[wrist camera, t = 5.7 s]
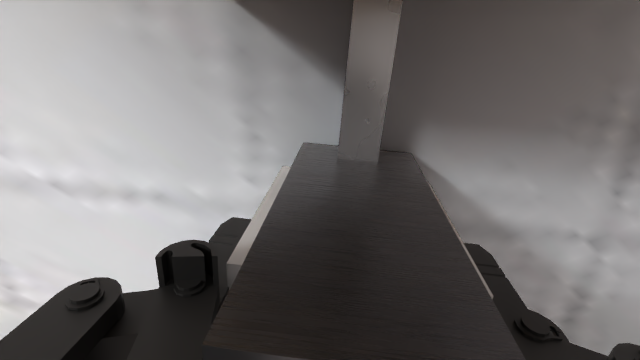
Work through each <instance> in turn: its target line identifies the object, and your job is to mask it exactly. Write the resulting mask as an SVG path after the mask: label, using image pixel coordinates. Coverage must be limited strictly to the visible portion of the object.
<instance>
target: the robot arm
mask: <svg viewBox="0 0 640 360" xmlns="http://www.w3.org/2000/svg"><path fill="white" fill-rule="evenodd" d="M290 168H291V167H287V166H282V168H281V170H280V171H279V173H278V175H277V177H276V178H275V180H274V182H273V183H272V185H271V187H270V189H269V190H268V192H267V194H266V196H265V197H264V199H263V201H262V203H261V204H260V206H259V208H258V210H257V211H256V213H255V215H254V216H253V218H252V219H243V218H235V217H232V218H231V219H229V220H227V221H226V222H224V223H222V224H221V225H220V227H219V228H218V229H217V231H216V232H215V233H214V235H213V236H212V237H211V239H210V240H209V243H208V242H205V241H200V240H187V241H181V242H178V243H174V244H171V245H169V246H168V247H166V248H164V249H163V250H161V251H160V252H159V253H158V255H157V256H156V257H155V259H156V266H157V273H158V280H159V286H160V287H159V289H154V290H149V291H140V292H131V293H122V289H121V285H120V284H119V283H118V282H117V281H116V280H114V279H110V278H91V279H87V280H82V281H80V282H77V283H75V284H72V285H70V286H68V287H67V288H65V289H63V290H62V291H60V292H59V293H57V294H56V295H55V296H54V297H52V298H51V299H50V300H49V301H48V302H46V303H45V304H44V305H43V306H42V307H40V308H39V309H38V310H37V311H36V312H34V313H33V314H32V315H31V316H29V317H28V318H27V319H26V320H25V321H23V322H22V323H21V324H20V325H19V326H17V327H16V328H15V329H14V330H13V331H11V332H10V333H9V334H8V335H7V336H5V337H4V338H3V339H2V340H0V360H203V354H202V344H203V342H204V340H205V338H206V336H207V334H208V332H209V330H210V328H211V326H212V324H213V322H214V320H215V318H216V316H217V314H218V312H219V310H220V308H221V306H222V304H223V302H224V300H225V298H226V296H227V294H228V292H229V290H230V288H231V286H232V284H233V282H234V280H235V278H236V276H237V274H238V272H239V270H240V268H241V266H242V264H243V262H244V260H245V258H246V256H247V254H248V252H249V250H250V248H251V246H252V244H253V242H254V240H255V238H256V236H257V234H258V232H259V230H260V228H261V226H262V224H263V222H264V220H265V218H266V216H267V214H268V212H269V210H270V208H271V206H272V204H273V202H274V200H275V198H276V196H277V194H278V192H279V190H280V188H281V186H282V184H283V182H284V180H285V178H286V176H287V174H288V172H289V170H290ZM427 183H428V185H429V186H430V188H431V190H432V192H433V194H434V195H435V197H436V199H437V201H438V203H439V204H440V206H441V208H442V210H443V212H444V213H445V215H446V217H447V219H448V221H449V222H450V224H451V226H452V228H453V230H454V231H455V233H456V235H457V237H458V239H459V240H460V242H461V244H462V246H463V248H464V250H465V251H466V253H467V255H468V257H469V259H470V260H471V262H472V264H473V266H474V268H475V269H476V271H477V273H478V275H479V277H480V278H481V280H482V282H483V284H484V286H485V287H486V289H487V291H488V293H489V295H490V296H491V298H492V300H493V302H494V304H495V305H496V307H497V309H498V311H499V313H500V314H501V316H502V318H503V320H504V322H505V323H506V325H507V327H508V329H509V331H510V332H511V334H512V336H513V338H514V340H515V341H516V343H517V345H518V347H519V349H520V350H521V352H522V354H523V356H524V358H525V359H526V360H640V346H638V345H634V344H630V343H622V344H618V345H616V346H615V347H614V348H613V350H612V351H611V353H610V355H609V356H606V355H603V354H600V353H597V352H594V351H591V350H588V349H586V348H583V347H580V346H577V345H574V344H572V343H570V342H569V341H568V339H567V338H566V336H565V335H564V333H563V332H562V330H561V329H560V328H559V327H557V326H556V325H555V324H554V323H553V322H552V321H551V320H549V319H547V318H546V317H544V316H542V315H540V314H539V313H536V312H534V311H531V310H528V309H527V307H526V306H525V304H524V303H523V301H522V300H521V298H520V297H519V295H518V294H517V292H516V291H515V289H514V288H513V286H512V285H511V283H510V282H509V280H508V279H507V278H505V274H504V273H503V271H502V270H501V268H499V266H498V264H497V263H496V261H495V260H494V258H493V257H492V255H491V254H490V253H488V252H487V251H486V250H485V249H483V248H482V247H481V246H480V245H477V244H468V243H463V242H462V240H461V238H460V236H459V235H458V233H457V231H456V229H455V227H454V226H453V224H452V222H451V220H450V219H449V217H448V215H447V213H446V212H445V210H444V208H443V206H442V205H441V203H440V201H439V199H438V198H437V196H436V194H435V192H434V190H433V189H432V187H431V185H430V183H429V182H428V181H427Z"/></svg>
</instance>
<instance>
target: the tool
mask: <svg viewBox="0 0 640 360" xmlns="http://www.w3.org/2000/svg"><path fill="white" fill-rule="evenodd" d="M402 3H403V0H354V3H353V12H352V22H351V32H350V41H349V51H348V61H347V70H346V80H345V89H344V99H343V109H342V118H341V128H340V138H339V146H333V145H323V144H314V143H304V142H303V144H302V146H301V148H300V150H299V152H298V154H297V156H296V158H295V160H294V162H293V164H292V166H291V168H290V170H289V172H288V174H287V176H286V178H285V180H284V182H283V184H282V186H281V188H280V190H279V192H278V194H277V196H276V198H275V200H274V202H273V204H272V206H271V208H270V210H269V212H268V214H267V216H266V218H265V220H264V222H263V224H262V226H261V228H260V230H259V232H258V234H257V236H256V238H255V240H254V242H253V244H252V246H251V248H250V250H249V252H248V254H247V256H246V258H245V260H244V262H243V264H242V266H241V268H240V270H239V272H238V274H237V276H236V278H235V280H234V282H233V284H232V286H231V288H230V290H229V292H228V294H227V296H226V298H225V300H224V302H223V304H222V306H221V308H220V310H219V312H218V314H217V316H216V318H215V320H214V322H213V324H212V326H211V328H210V330H209V332H208V334H207V336H206V338H205V340H204V342H203V344H202V354H203V360H526V359H525V358H524V356H523V354H522V352H521V350H520V349H519V347H518V345H517V343H516V341H515V340H514V338H513V336H512V334H511V332H510V331H509V329H508V327H507V325H506V323H505V322H504V320H503V318H502V316H501V314H500V313H499V311H498V309H497V307H496V305H495V304H494V302H493V300H492V298H491V296H490V295H489V293H488V291H487V289H486V287H485V286H484V284H483V282H482V280H481V278H480V277H479V275H478V273H477V271H476V269H475V268H474V266H473V264H472V262H471V260H470V259H469V257H468V255H467V253H466V251H465V250H464V248H463V246H462V244H461V242H460V240H459V239H458V237H457V235H456V233H455V231H454V230H453V228H452V226H451V224H450V222H449V221H448V219H447V217H446V215H445V213H444V212H443V210H442V208H441V206H440V204H439V203H438V201H437V199H436V197H435V195H434V194H433V192H432V190H431V188H430V186H429V185H428V183H427V181H426V179H425V177H424V176H423V174H422V172H421V170H420V168H419V167H418V165H417V163H416V161H415V159H414V158H413V156H412V154H411V153H403V152H393V151H383V150H380V144H381V138H382V132H383V125H384V119H385V112H386V106H387V100H388V93H389V87H390V80H391V74H392V68H393V61H394V55H395V48H396V42H397V35H398V29H399V23H400V16H401V10H402Z"/></svg>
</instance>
